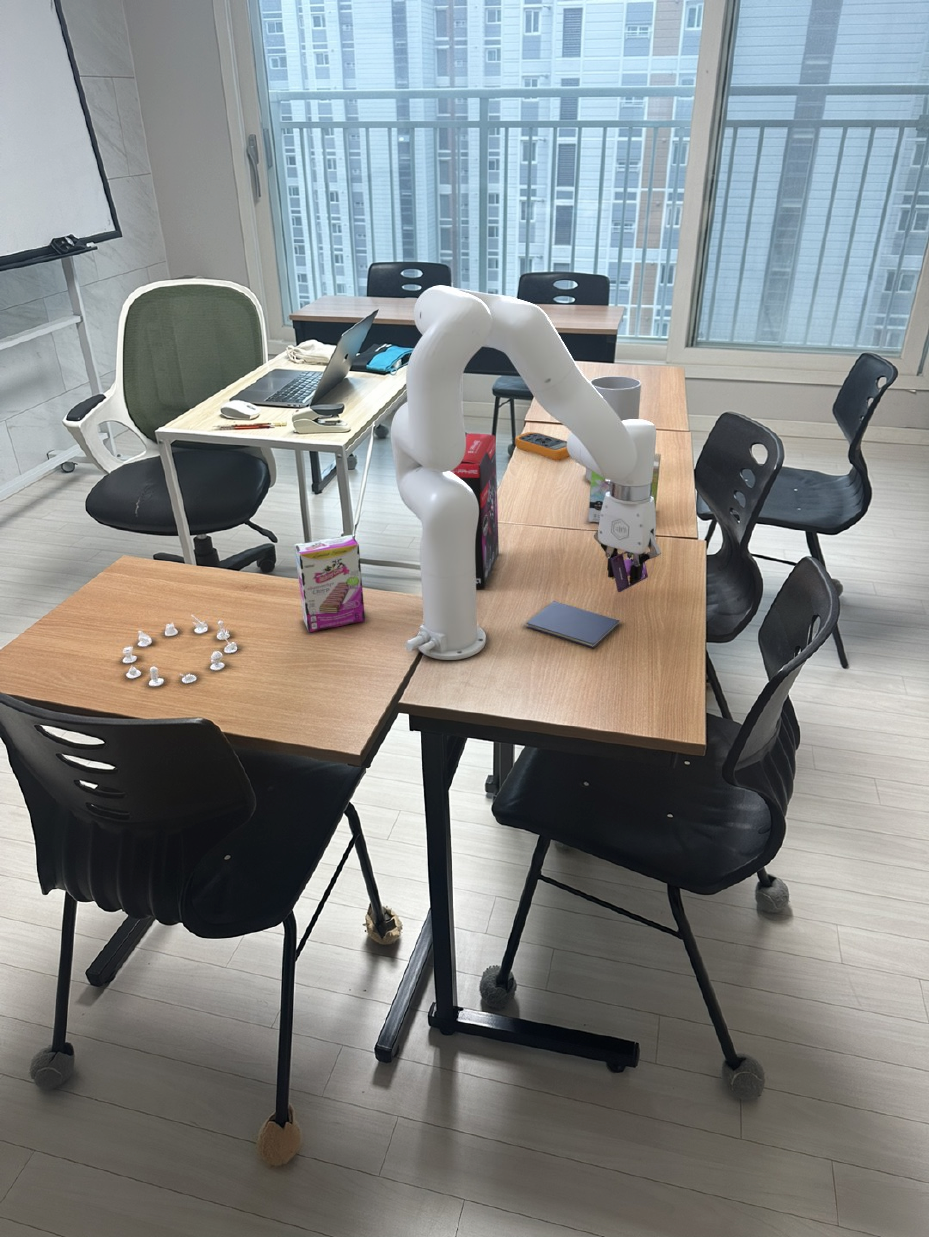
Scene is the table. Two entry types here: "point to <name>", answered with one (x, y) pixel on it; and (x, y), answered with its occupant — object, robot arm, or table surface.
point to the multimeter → (543, 445)
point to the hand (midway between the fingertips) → (624, 577)
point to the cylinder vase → (619, 398)
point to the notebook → (573, 624)
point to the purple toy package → (624, 571)
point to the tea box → (600, 489)
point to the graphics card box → (482, 499)
